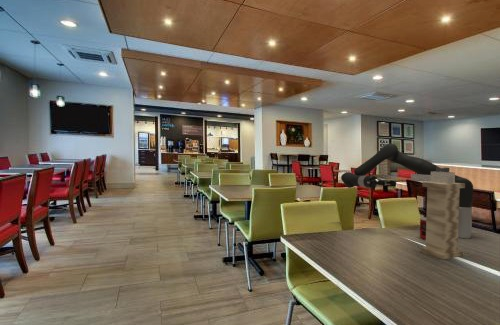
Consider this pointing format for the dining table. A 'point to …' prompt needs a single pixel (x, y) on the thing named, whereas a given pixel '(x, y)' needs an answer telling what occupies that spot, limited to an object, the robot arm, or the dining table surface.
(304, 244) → the dining table surface
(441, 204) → the stand
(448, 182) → the grey elongated piece
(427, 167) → the robot arm
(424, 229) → the canned food
